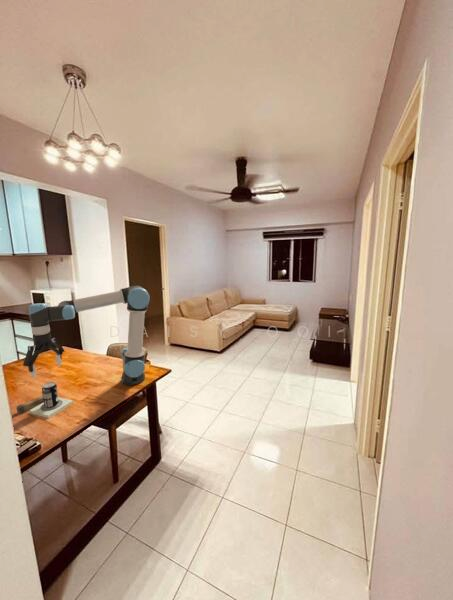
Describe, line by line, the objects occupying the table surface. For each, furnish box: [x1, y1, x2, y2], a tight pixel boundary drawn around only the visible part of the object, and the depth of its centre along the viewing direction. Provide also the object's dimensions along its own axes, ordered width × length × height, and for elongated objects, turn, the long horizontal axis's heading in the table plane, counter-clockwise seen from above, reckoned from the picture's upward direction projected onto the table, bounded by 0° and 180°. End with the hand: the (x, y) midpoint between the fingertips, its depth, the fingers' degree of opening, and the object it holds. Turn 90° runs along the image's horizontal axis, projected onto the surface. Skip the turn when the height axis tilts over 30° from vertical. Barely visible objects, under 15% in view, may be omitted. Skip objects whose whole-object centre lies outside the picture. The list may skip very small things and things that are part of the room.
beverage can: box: [41, 381, 59, 408], centre depth 135 cm, size 7×7×12 cm
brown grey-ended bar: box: [16, 394, 44, 415], centre depth 138 cm, size 15×3×4 cm, turn 150°
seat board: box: [29, 396, 74, 419], centre depth 137 cm, size 14×14×2 cm
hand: (47, 371), depth 133 cm, fingers open, 13 cm apart
